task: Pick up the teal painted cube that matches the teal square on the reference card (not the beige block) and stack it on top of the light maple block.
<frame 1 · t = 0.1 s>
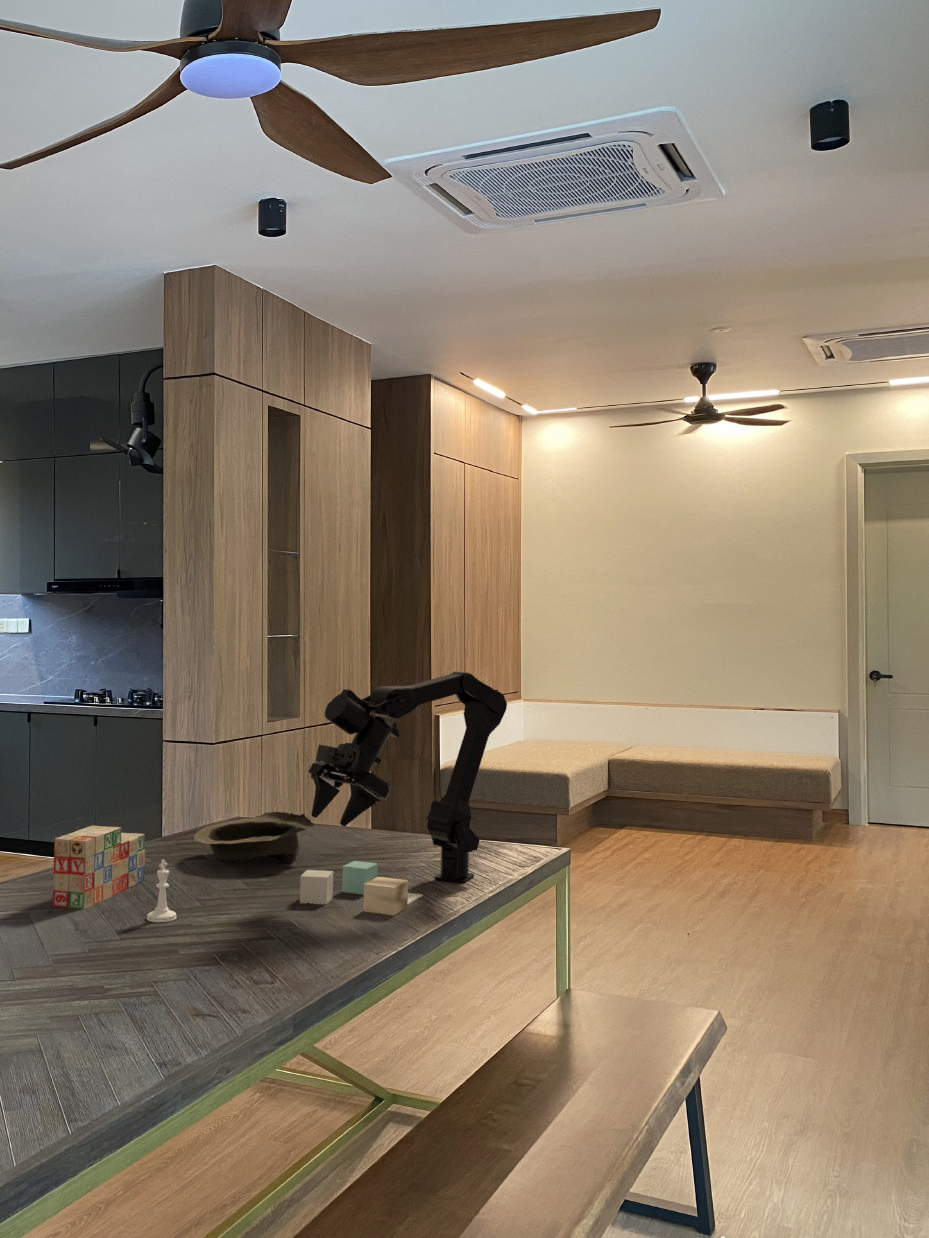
hand: (327, 820, 196), 15 cm above the table, tool tilted 30°, fingers open, 9 cm apart
maple block: (385, 909, 192), on the table
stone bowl: (251, 861, 228), on the table
stack of blocks: (100, 894, 198), on the table
chess piece: (161, 919, 182), on the table
beige block: (316, 900, 197), on the table
reference card: (398, 897, 200), on the table
teal block: (359, 890, 205), on the table
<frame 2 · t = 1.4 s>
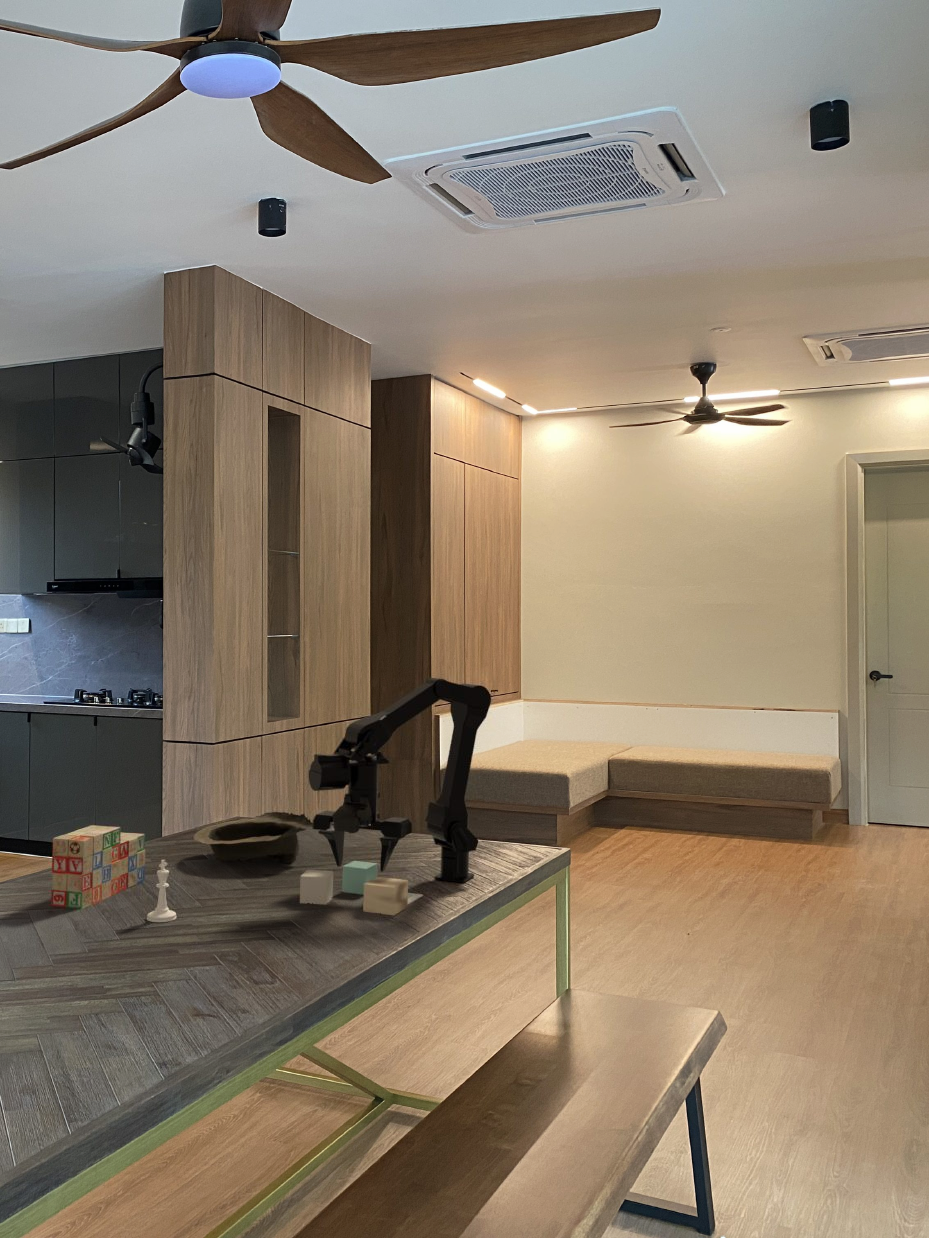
hand: (360, 868, 205), 4 cm above the table, tool pointing down, fingers open, 9 cm apart
nothing on the table moved.
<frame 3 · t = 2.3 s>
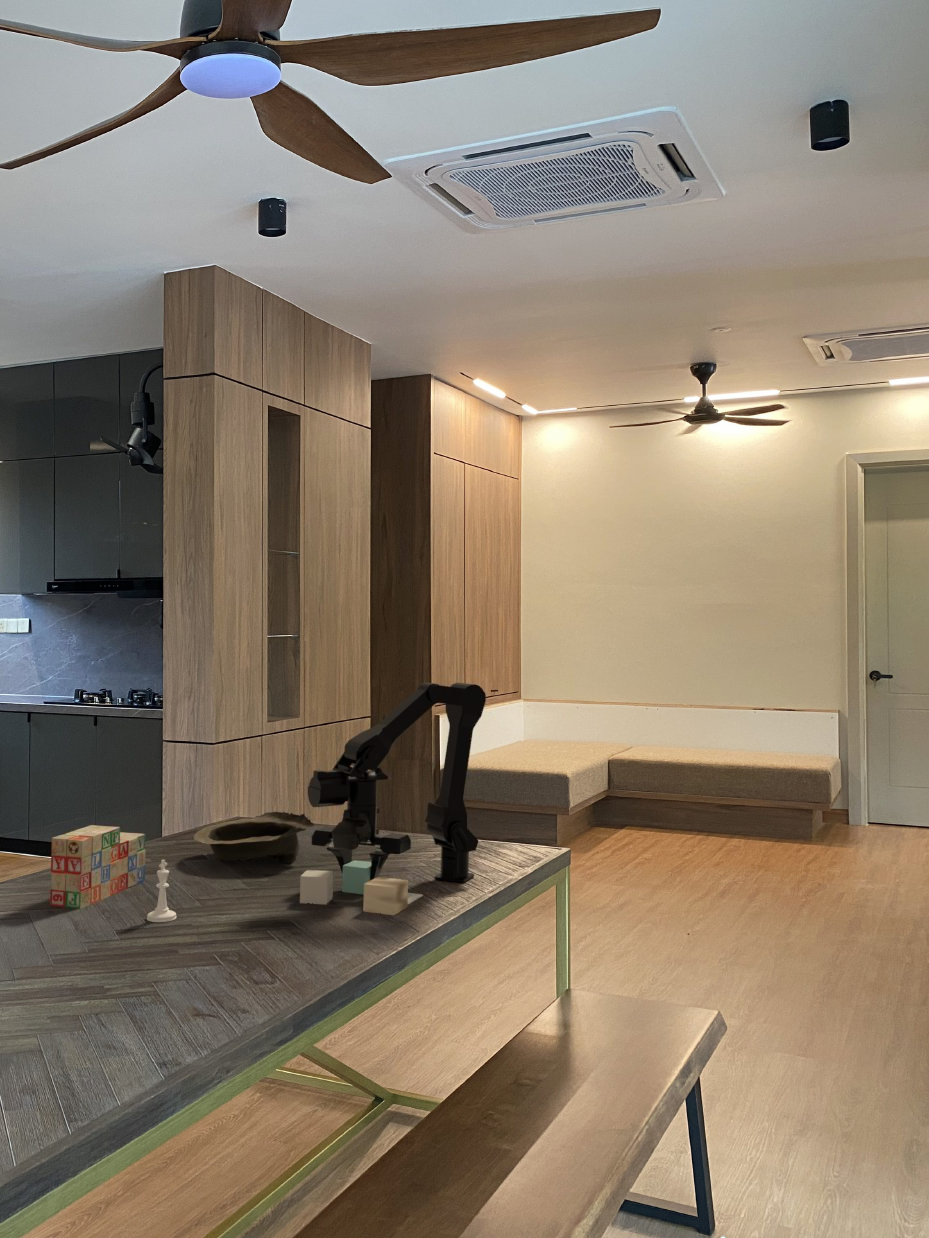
hand: (359, 884, 205), 1 cm above the table, tool pointing down, fingers closed on teal block, 5 cm apart
teal block: (359, 890, 205), on the table, touching gripper
everything else where it was.
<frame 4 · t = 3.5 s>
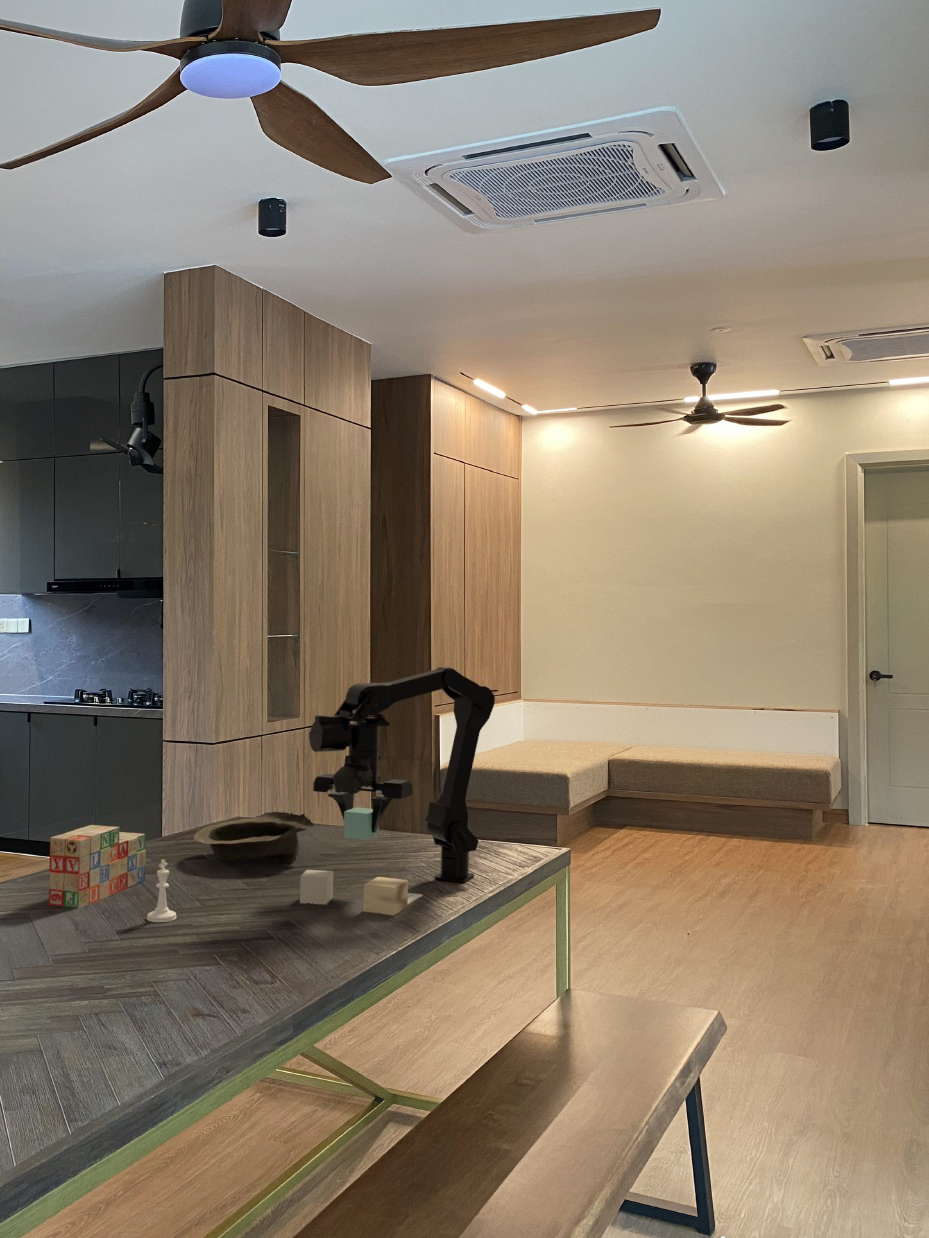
hand: (361, 830, 205), 11 cm above the table, tool pointing down, fingers closed on teal block, 5 cm apart
teal block: (361, 836, 205), point 10 cm above the table, touching gripper
everything else where it was.
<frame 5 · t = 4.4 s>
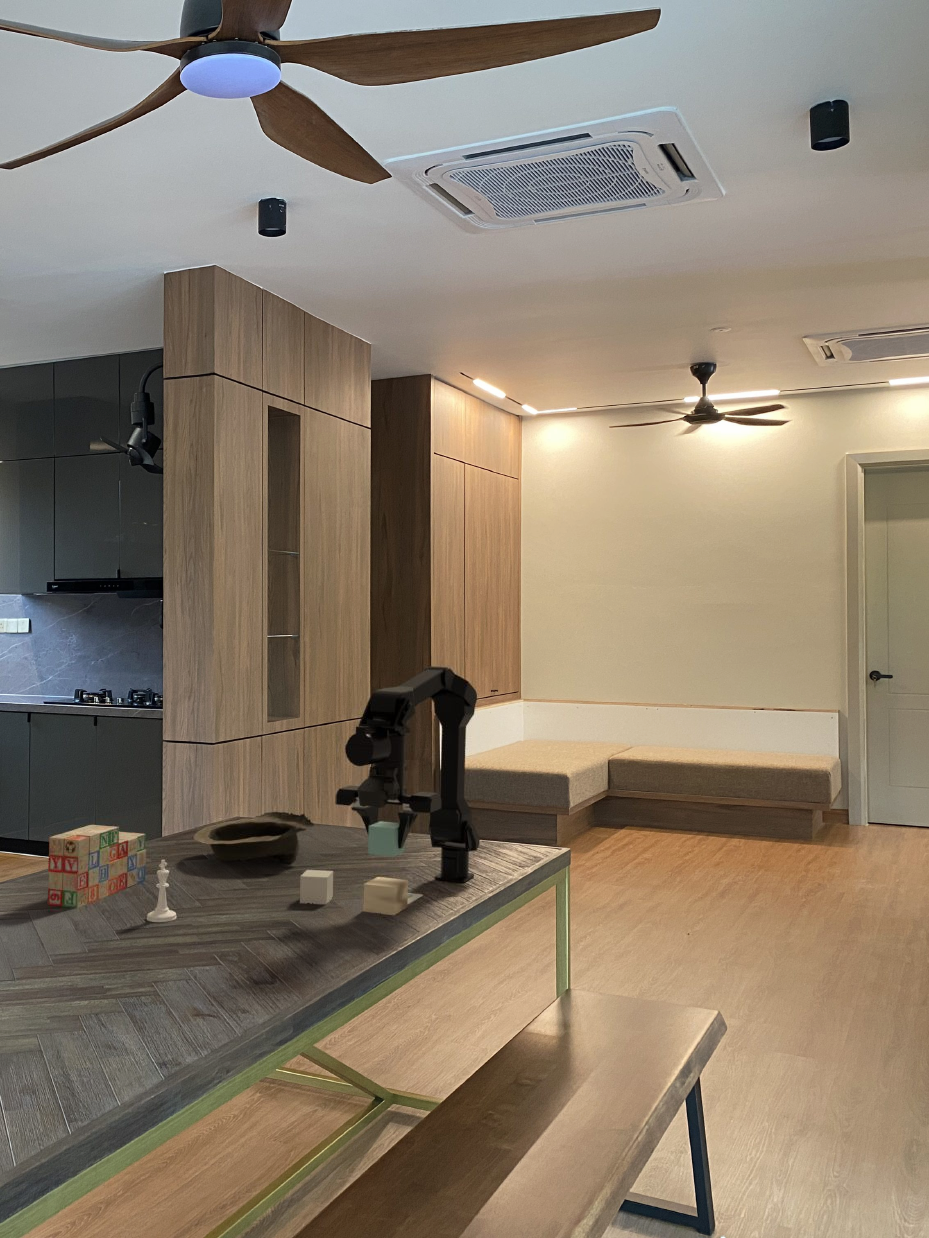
hand: (386, 846, 192), 11 cm above the table, tool pointing down, fingers closed on teal block, 5 cm apart
teal block: (386, 852, 192), point 10 cm above the table, touching gripper
everything else where it was.
when the fingers open (7 cm above the table, at t = 5.4 s): teal block drops 1 cm, resting on maple block.
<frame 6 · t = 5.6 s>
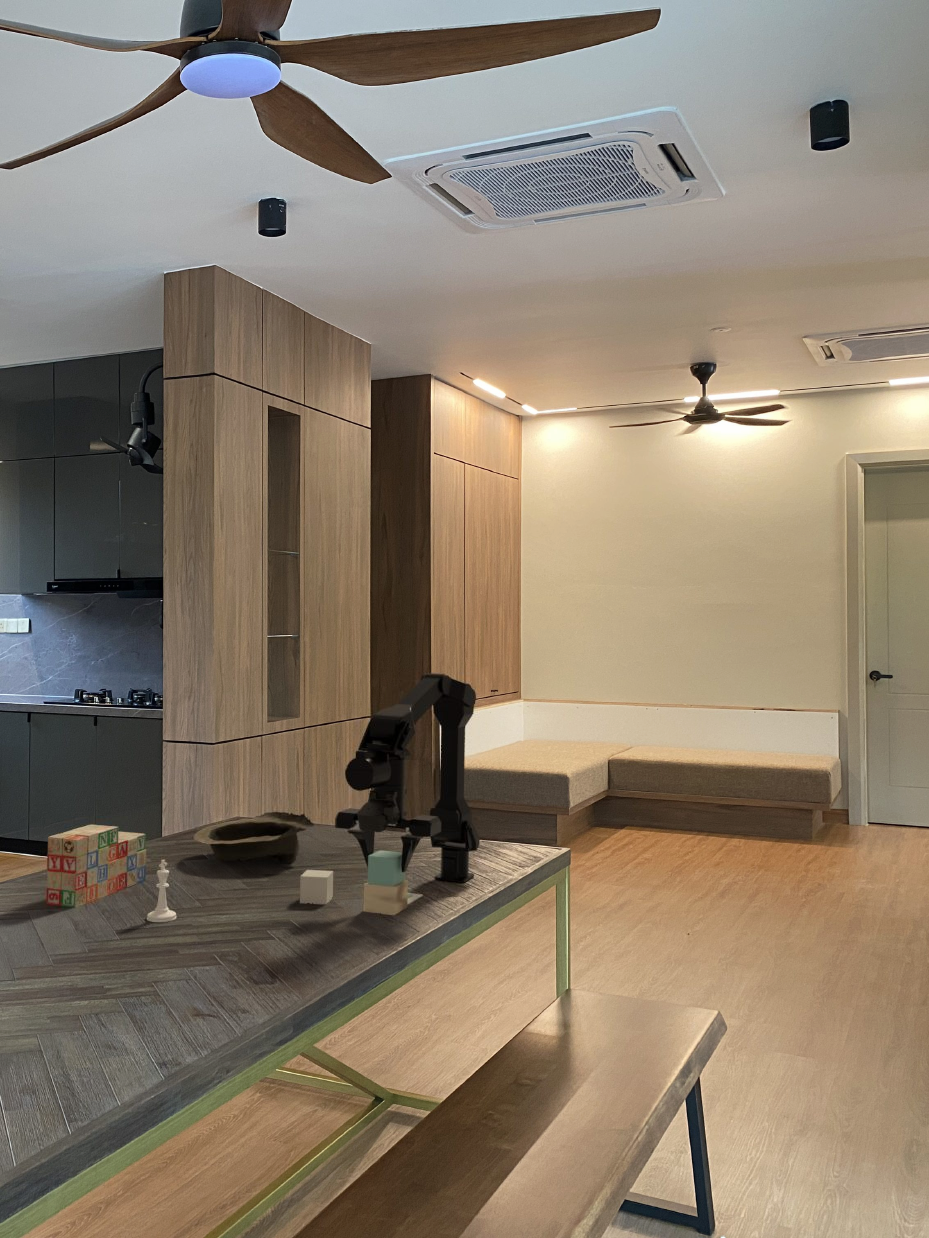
hand: (386, 870, 192), 7 cm above the table, tool pointing down, fingers open, 6 cm apart
maple block: (385, 909, 192), on the table, touching teal block
teal block: (386, 882, 192), point 5 cm above the table, touching maple block
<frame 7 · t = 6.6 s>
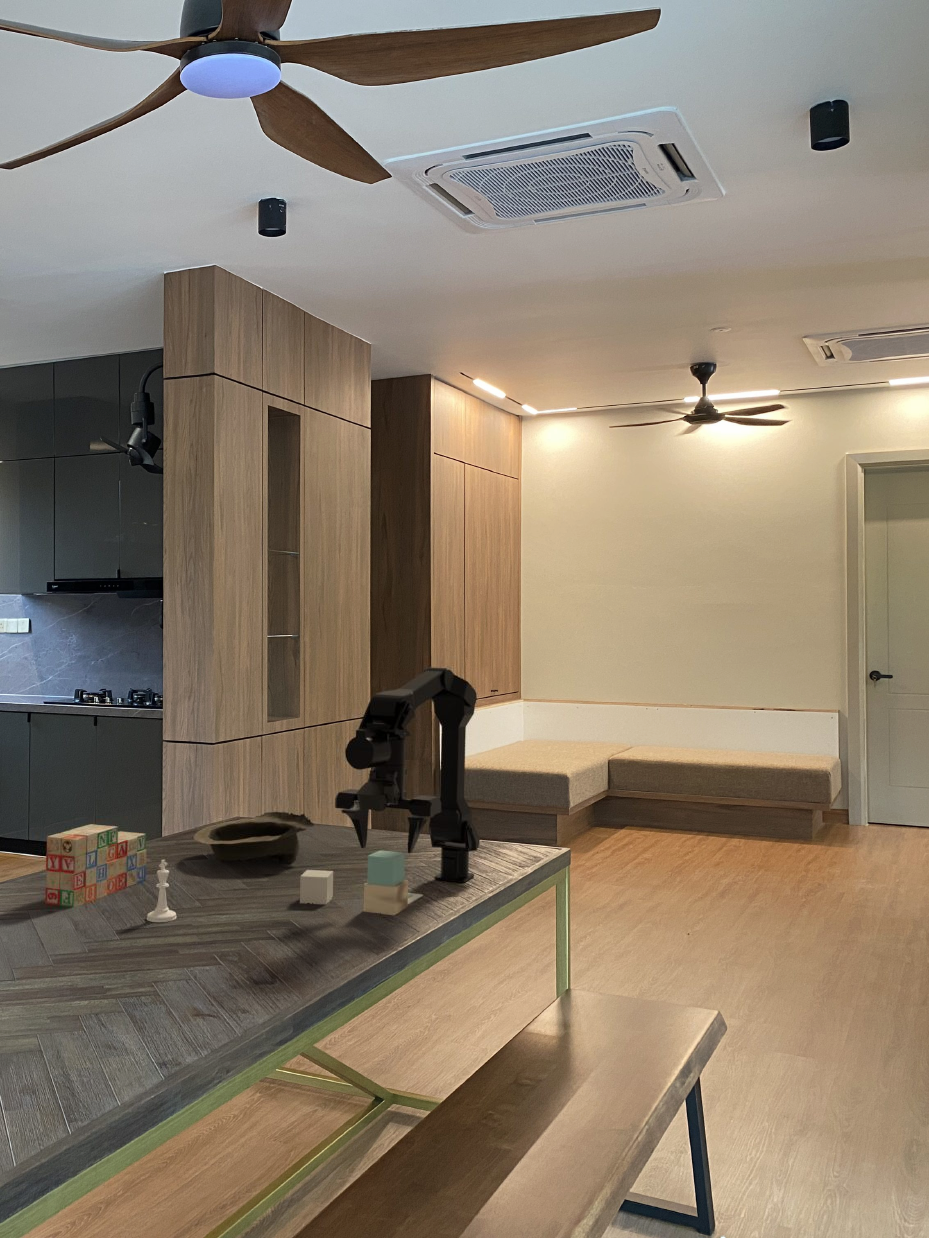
hand: (386, 850, 192), 11 cm above the table, tool pointing down, fingers open, 9 cm apart
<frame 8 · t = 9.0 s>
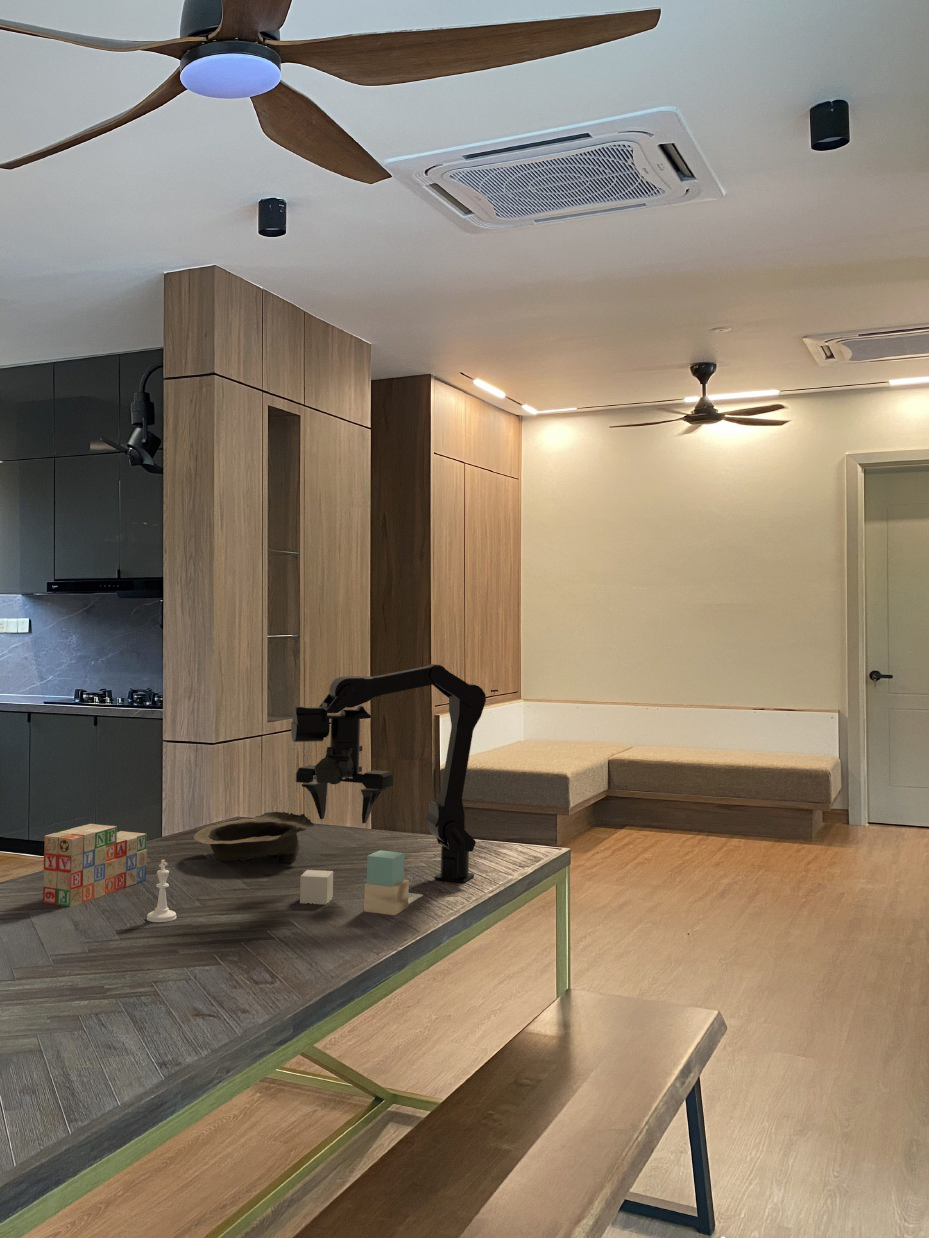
hand: (343, 820, 208), 12 cm above the table, tool pointing down, fingers open, 9 cm apart
maple block: (386, 909, 192), on the table
teal block: (385, 882, 192), point 5 cm above the table
at the end: teal block 0.3 cm off-centre on the maple block, point 5.0 cm above the maple block's base; teal block tilted 0°; the gripper is holding nothing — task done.
